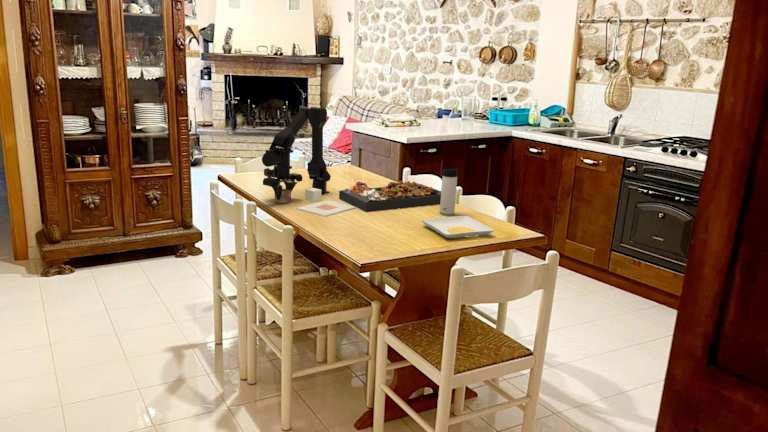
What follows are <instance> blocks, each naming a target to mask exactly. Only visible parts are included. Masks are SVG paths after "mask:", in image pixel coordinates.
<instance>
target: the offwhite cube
mask: <svg viewBox="0 0 768 432" xmlns="http://www.w3.org/2000/svg"><path fill="white" fill-rule="evenodd" d="M321 192H322V190H321V189H316V188H312V187H310V188H306V189H305V201H308V202H311V203H318V202H322V194H321Z"/></svg>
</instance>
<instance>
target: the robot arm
mask: <svg viewBox="0 0 768 432" xmlns="http://www.w3.org/2000/svg"><path fill="white" fill-rule="evenodd" d="M327 117H328V111H327V110H326V109H325V108H323V107H315V106H310V108H308V107H300V108H299V110H298V113H296V115H295V116H294V117H293V118H292V120H291V121H290V122H289V123H288V125H287V126H286V127H285V128H284V129H282V130H280V131H279V132H277V133H276V134H275V136H274V137H273V140H272V142H271V144H270V146H269V148H268V149H267V150H265V152H264V153H263V154H262V156H261V162H262V164H263V165H264V166H265V167H266V168H264V169H263V174H264V176H265V177H264V178H263V179H262V185H263V186H267V187H271V188H272V189H273V191H274V196H275V195H276V198H277V200H280V197H281V192H282V189H283V185H282V184H281V183H283V184H284V185H285V189H287V190H291V193H292V192H293V190H294V188H295V187H296V185H297V184H298V183H299V182H303V176H302V174H300V173H295V172H293V173H292V172H291V170H292V168H293V166H292V165H291V156H290V155H291V154H292V153H294V150H293V149H292V146H293V145H294V143H295V141H296V135H297V134H298V132H299V131H300V130H301V129H302V127H303V126H304V125H305V123H306V122H307V121H308V122H309V124H310V127H311V160H310V161H309V162H307V165H306V166H307V169H306V171H307V173H308V177H309V179H310V180H312V184H311V185H312V187H311V188H316V189H321V190H322V192H321V195H324V194H328V193H329V192H330V191H329V190H327V188H328V187H327V182H329V181H331V174H330V172H329V171H328V169H327V164H326V162H325V160H324V153H323V152H324V150H323V149H324V141H323V140H324V139H323V138H324V126H325V124H326V123H327V119H328V118H327ZM270 167H273V169H270ZM290 172H291V173H290Z"/></svg>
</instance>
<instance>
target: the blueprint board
mask: <svg viewBox="0 0 768 432" xmlns="http://www.w3.org/2000/svg"><path fill="white" fill-rule="evenodd" d="M354 209H355V210H356V209H357V207H354V206H352V205H350V204H345V203H341V202H337V201H333V200H327V199H326V200H324V201H318V202H314V203H310V204H306V205H302V206H298V207H296V210H297V211H301V212H306V213H309V214H314V215H317V216H321V217H325V218H326V217H329V216H333V215H336V214H341V213H344V212H347V211H352V210H354Z"/></svg>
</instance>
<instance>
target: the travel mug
mask: <svg viewBox="0 0 768 432" xmlns="http://www.w3.org/2000/svg"><path fill="white" fill-rule="evenodd" d="M458 171H459V170H458V169H457V168H447V169H445V168H444V169H442V179H441V190H440V191H441V201H440V204H439V205H440V206H439V214H440V215H441V214H442V215H441V216H444V215H453V216H454V215H455V207H456V198H457V197H456V196H457V184H458Z"/></svg>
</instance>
